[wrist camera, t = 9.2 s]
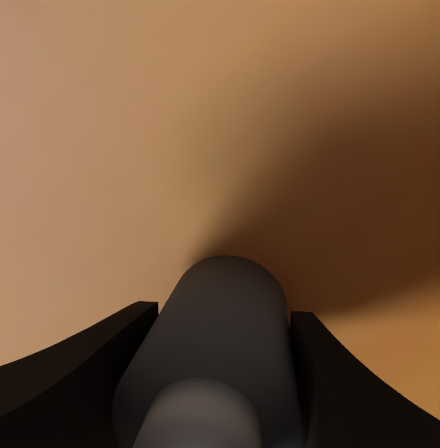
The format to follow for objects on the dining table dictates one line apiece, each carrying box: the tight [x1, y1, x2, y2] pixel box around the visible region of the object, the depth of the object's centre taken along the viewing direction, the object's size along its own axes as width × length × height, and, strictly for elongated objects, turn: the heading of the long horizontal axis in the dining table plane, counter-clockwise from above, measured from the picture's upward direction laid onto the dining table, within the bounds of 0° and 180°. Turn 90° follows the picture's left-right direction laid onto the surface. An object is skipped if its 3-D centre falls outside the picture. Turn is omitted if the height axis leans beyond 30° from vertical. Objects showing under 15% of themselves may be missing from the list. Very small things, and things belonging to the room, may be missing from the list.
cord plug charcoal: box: [112, 256, 302, 448], centre depth 9 cm, size 4×4×6 cm
